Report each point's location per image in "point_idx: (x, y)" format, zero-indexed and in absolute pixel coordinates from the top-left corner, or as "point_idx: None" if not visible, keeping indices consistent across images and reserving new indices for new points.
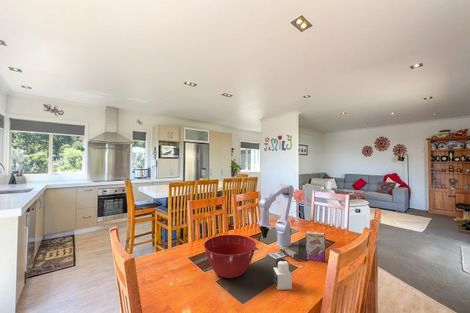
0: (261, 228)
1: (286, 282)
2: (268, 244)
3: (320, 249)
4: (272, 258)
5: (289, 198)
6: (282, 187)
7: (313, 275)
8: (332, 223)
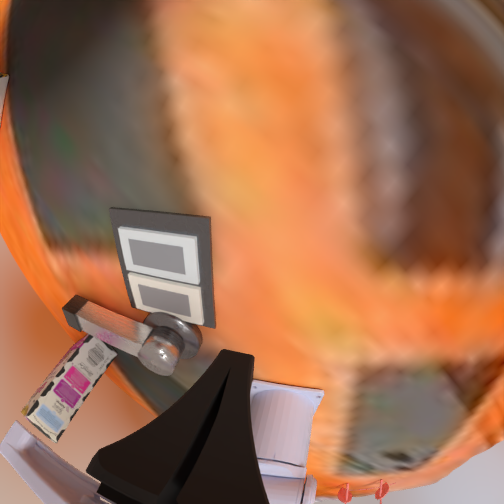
0: (180, 496)
1: None
2: (355, 367)
3: (50, 373)
4: (135, 213)
5: None
6: None
7: (14, 242)
8: None
